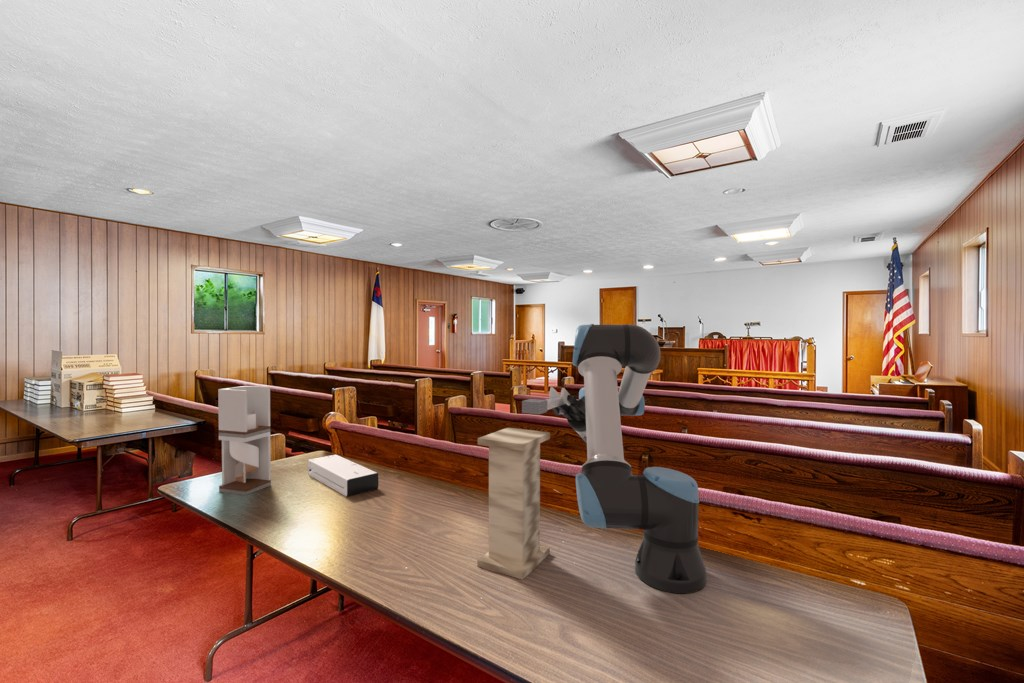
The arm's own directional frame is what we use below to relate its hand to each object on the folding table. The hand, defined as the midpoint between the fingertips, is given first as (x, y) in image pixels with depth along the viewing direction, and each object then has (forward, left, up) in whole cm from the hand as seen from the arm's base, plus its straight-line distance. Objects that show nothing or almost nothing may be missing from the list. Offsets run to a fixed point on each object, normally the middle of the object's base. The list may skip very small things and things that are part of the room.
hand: (556, 391), depth 132 cm
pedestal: (-8, +23, -38) cm, 45 cm away
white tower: (+91, +61, -38) cm, 116 cm away
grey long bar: (-1, +4, -4) cm, 6 cm away
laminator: (+77, +33, -38) cm, 92 cm away
